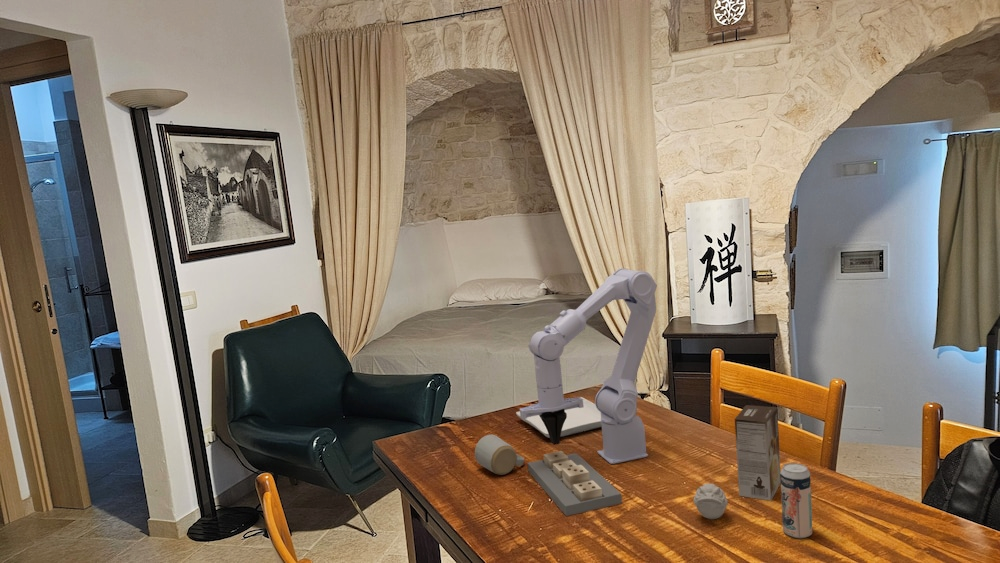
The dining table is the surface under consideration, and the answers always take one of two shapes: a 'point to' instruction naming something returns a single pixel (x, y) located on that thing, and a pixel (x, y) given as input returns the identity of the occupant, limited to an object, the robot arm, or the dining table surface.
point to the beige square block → (587, 491)
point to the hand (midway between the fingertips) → (555, 442)
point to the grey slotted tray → (565, 496)
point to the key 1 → (554, 458)
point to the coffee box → (758, 452)
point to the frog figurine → (710, 501)
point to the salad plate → (572, 420)
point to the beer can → (796, 500)
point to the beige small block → (574, 475)
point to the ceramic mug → (496, 455)
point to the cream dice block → (559, 466)
